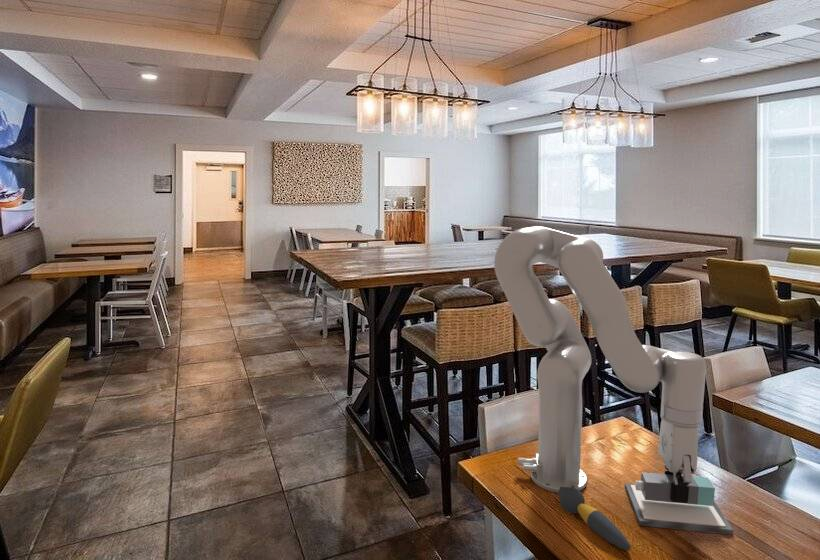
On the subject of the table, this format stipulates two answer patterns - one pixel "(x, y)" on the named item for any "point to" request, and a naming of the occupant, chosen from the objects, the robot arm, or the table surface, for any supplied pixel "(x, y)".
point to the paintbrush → (592, 517)
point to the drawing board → (677, 514)
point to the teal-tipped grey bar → (660, 489)
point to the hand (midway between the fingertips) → (675, 494)
